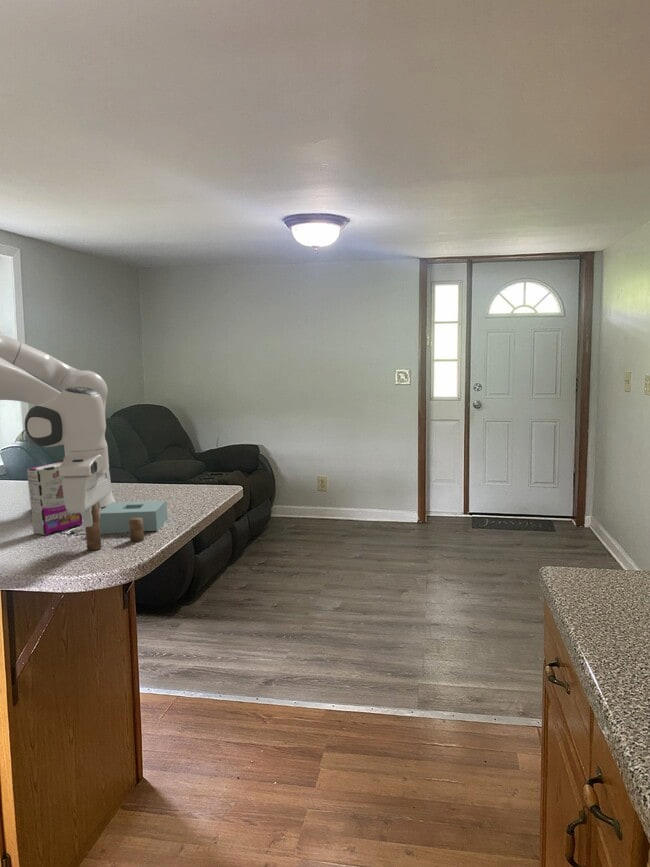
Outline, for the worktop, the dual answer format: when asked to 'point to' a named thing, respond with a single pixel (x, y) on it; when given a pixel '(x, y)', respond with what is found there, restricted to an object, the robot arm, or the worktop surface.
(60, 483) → the candy bar box
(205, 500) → the worktop surface
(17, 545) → the worktop surface
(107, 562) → the worktop surface
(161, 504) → the hole block
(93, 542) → the long dowel
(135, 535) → the short dowel
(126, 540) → the worktop surface
